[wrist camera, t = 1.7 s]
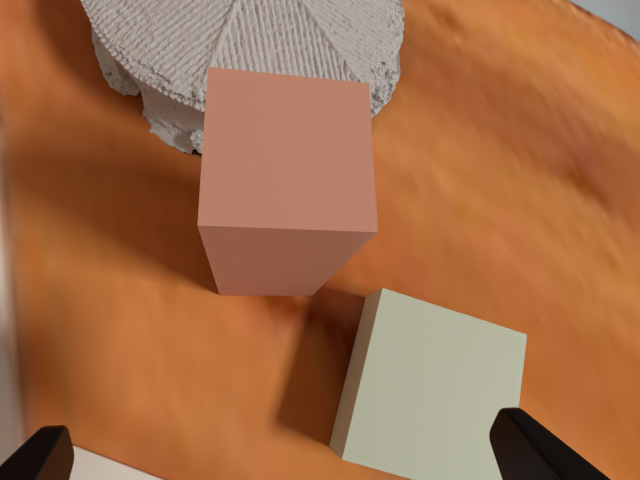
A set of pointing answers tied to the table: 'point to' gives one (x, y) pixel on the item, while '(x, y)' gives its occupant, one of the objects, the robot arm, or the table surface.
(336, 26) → the grey round stone disc
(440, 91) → the table surface
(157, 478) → the page
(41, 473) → the robot arm
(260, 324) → the table surface
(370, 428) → the base brick
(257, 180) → the tall brick
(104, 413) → the table surface
